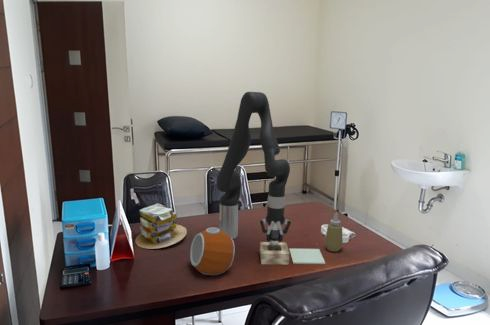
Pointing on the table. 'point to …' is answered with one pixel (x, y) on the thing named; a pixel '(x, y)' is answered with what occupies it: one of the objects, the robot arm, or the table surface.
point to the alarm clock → (212, 251)
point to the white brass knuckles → (345, 233)
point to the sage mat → (306, 256)
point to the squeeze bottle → (334, 235)
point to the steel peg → (274, 237)
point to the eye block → (274, 254)
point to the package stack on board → (159, 227)
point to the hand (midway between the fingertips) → (274, 241)
